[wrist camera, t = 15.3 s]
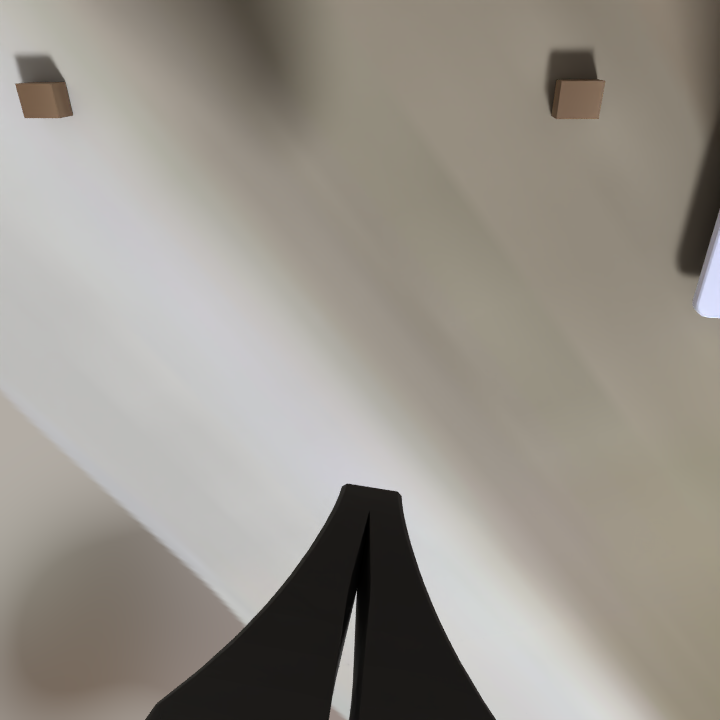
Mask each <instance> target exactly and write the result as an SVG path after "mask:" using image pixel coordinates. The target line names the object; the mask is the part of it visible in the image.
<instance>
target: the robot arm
mask: <svg viewBox="0 0 720 720" xmlns="http://www.w3.org/2000/svg"><path fill="white" fill-rule="evenodd" d="M693 307H694V309H695V310H696V311H697V312H698V313H699V314H700V315H701V316H703V317H708V318H720V210H719V214H718V217H717V220H716V224H715V227H714V230H713V234H712V237H711V240H710V244H709V247H708V251H707V254H706V257H705V261H704V264H703V267H702V271H701V274H700V277H699V281H698V284H697V287H696V291H695V294H694V298H693ZM356 591H357V601H356V623H355V647H354V670H353V688H352V701H351V709H350V717H349V720H496V719H495V718H494V716H493V715H492V713H491V711H490V710H489V708H488V707H487V705H486V704H485V702H484V701H483V699H482V697H481V696H480V694H479V692H478V691H477V689H476V687H475V686H474V684H473V682H472V681H471V679H470V677H469V676H468V674H467V672H466V671H465V669H464V667H463V665H462V664H461V662H460V660H459V658H458V656H457V655H456V653H455V651H454V649H453V647H452V645H451V643H450V641H449V639H448V637H447V635H446V633H445V631H444V629H443V627H442V625H441V623H440V620H439V618H438V616H437V614H436V612H435V609H434V607H433V605H432V602H431V600H430V597H429V595H428V592H427V590H426V587H425V585H424V582H423V579H422V576H421V574H420V571H419V568H418V565H417V562H416V559H415V556H414V552H413V549H412V546H411V543H410V539H409V535H408V531H407V527H406V523H405V518H404V513H403V506H402V496H401V495H400V494H399V493H398V492H397V491H390V490H384V489H378V488H371V487H365V486H359V485H352V484H346V485H344V486H342V488H341V491H340V494H339V497H338V499H337V501H336V504H335V506H334V508H333V510H332V512H331V514H330V515H329V517H328V519H327V521H326V523H325V525H324V526H323V528H322V529H321V531H320V533H319V534H318V536H317V537H316V539H315V541H314V542H313V544H312V546H311V547H310V549H309V550H308V551H307V553H306V554H305V556H304V557H303V558H302V560H301V561H300V563H299V564H298V565H297V567H296V568H295V570H294V571H293V572H292V574H291V575H290V576H289V578H288V579H287V580H286V581H285V583H284V584H283V585H282V586H281V588H280V589H279V590H278V591H277V592H276V594H275V595H274V596H273V597H272V598H271V599H270V601H269V602H268V603H267V604H266V605H265V606H264V607H263V609H262V610H261V611H260V612H259V613H258V614H257V615H256V616H255V617H254V618H253V619H252V620H251V621H250V622H249V623H248V625H247V626H246V627H245V628H244V629H243V630H242V631H241V632H240V633H239V634H238V635H237V636H236V637H235V638H234V639H233V640H231V641H230V642H229V643H228V644H227V645H226V646H225V647H224V648H223V649H222V650H220V651H219V652H218V653H217V654H216V655H215V656H214V657H213V658H212V659H211V660H210V661H208V662H207V663H206V664H205V665H204V666H203V667H202V668H200V669H199V670H198V671H197V672H196V673H195V674H193V675H192V676H191V677H189V678H188V679H187V680H186V681H185V682H183V683H182V684H181V685H179V686H178V687H177V688H176V689H174V690H173V691H172V692H170V693H169V694H168V695H167V696H166V697H164V698H163V699H162V700H160V701H159V702H158V703H157V704H156V705H155V707H154V708H153V709H152V711H151V712H150V714H149V715H148V716H147V718H146V719H145V720H329V715H330V708H331V701H332V696H333V691H334V686H335V681H336V676H337V672H338V668H339V663H340V659H341V655H342V651H343V646H344V642H345V638H346V634H347V630H348V625H349V621H350V617H351V613H352V608H353V604H354V600H355V595H356Z"/></svg>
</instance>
